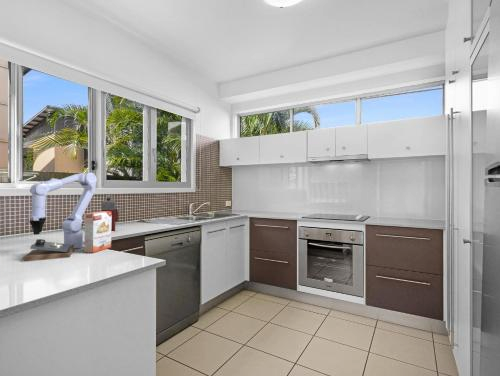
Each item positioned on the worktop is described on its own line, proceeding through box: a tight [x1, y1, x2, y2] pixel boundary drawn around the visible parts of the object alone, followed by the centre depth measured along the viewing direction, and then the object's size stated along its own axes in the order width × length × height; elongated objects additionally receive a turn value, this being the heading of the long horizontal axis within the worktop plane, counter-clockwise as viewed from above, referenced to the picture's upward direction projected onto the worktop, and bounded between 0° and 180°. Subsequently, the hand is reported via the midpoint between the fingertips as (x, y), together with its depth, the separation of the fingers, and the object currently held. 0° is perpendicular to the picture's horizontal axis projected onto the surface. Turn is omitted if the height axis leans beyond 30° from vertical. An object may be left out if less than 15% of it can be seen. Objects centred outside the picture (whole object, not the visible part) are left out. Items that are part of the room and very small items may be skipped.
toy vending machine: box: [101, 194, 119, 232], centre depth 212 cm, size 9×11×28 cm
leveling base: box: [23, 245, 75, 262], centre depth 139 cm, size 18×16×3 cm
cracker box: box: [83, 210, 112, 254], centre depth 151 cm, size 14×6×21 cm, turn 168°
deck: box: [30, 238, 71, 252], centre depth 139 cm, size 15×13×3 cm
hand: (37, 233), depth 142 cm, fingers open, 7 cm apart
